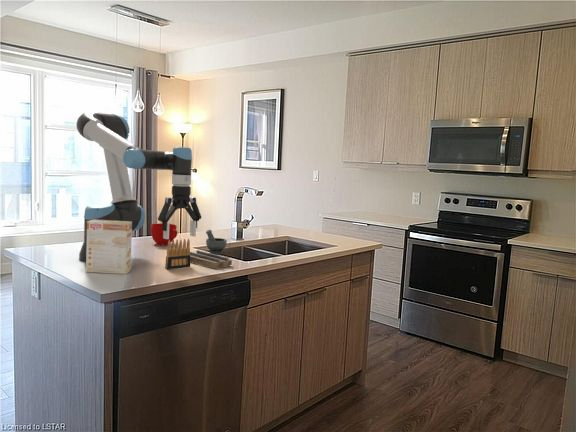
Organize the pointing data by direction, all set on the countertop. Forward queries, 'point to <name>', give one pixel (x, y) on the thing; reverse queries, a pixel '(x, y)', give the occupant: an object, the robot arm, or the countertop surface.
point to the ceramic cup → (158, 233)
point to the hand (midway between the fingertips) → (179, 237)
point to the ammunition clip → (178, 255)
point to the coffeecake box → (108, 246)
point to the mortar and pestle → (215, 243)
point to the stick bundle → (209, 259)
